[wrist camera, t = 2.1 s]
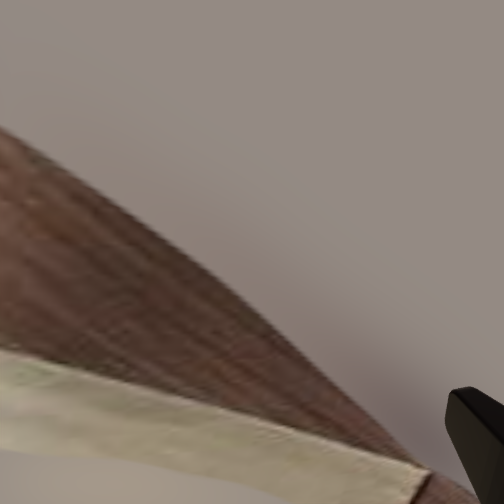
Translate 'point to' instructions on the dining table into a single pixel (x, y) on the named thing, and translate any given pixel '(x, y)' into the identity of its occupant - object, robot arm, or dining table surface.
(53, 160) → the dining table surface
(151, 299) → the dining table surface
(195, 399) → the dining table surface
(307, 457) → the dining table surface
